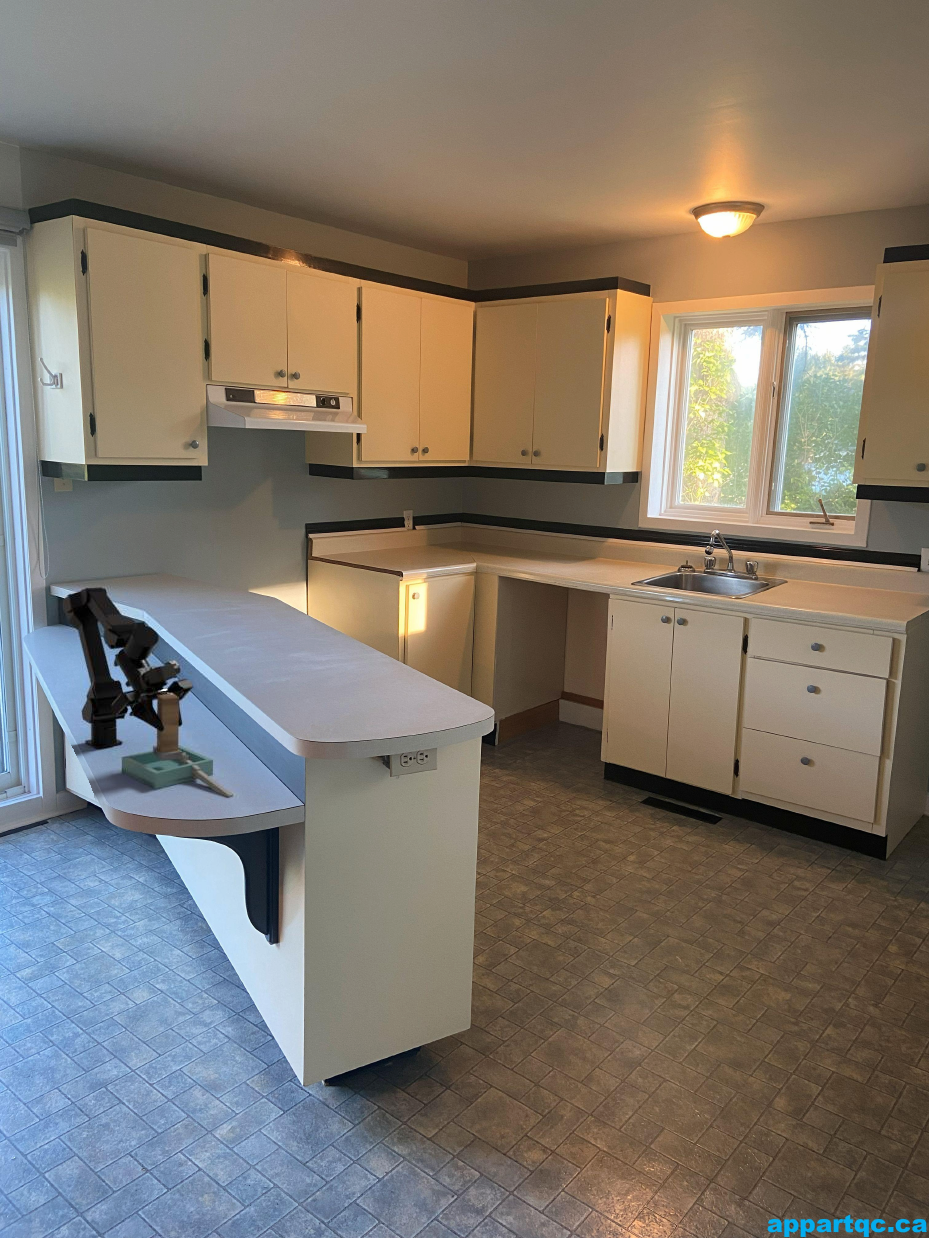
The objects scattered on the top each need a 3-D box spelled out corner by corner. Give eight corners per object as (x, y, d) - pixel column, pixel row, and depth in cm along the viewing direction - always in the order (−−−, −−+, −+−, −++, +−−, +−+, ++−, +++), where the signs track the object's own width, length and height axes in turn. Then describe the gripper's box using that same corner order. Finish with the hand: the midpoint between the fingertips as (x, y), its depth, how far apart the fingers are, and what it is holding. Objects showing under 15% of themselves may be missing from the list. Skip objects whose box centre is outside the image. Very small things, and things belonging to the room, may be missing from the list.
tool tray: (121, 772, 197) (121, 757, 196) (177, 759, 207) (177, 744, 207) (156, 789, 188) (156, 773, 187) (212, 774, 198) (213, 759, 198)
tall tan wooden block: (153, 752, 198) (153, 693, 196) (172, 749, 201) (173, 692, 198) (162, 760, 193) (162, 701, 191) (182, 758, 196) (182, 699, 193)
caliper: (177, 778, 198) (177, 751, 197) (182, 777, 199) (182, 750, 198) (232, 803, 185) (232, 774, 184) (236, 801, 186) (237, 773, 185)
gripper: (120, 656, 187) (156, 716, 183) (188, 644, 203) (222, 699, 199) (95, 686, 192) (130, 745, 189) (163, 671, 208) (196, 726, 205)
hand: (171, 727), depth 195 cm, fingers closed on tall tan wooden block, 5 cm apart
